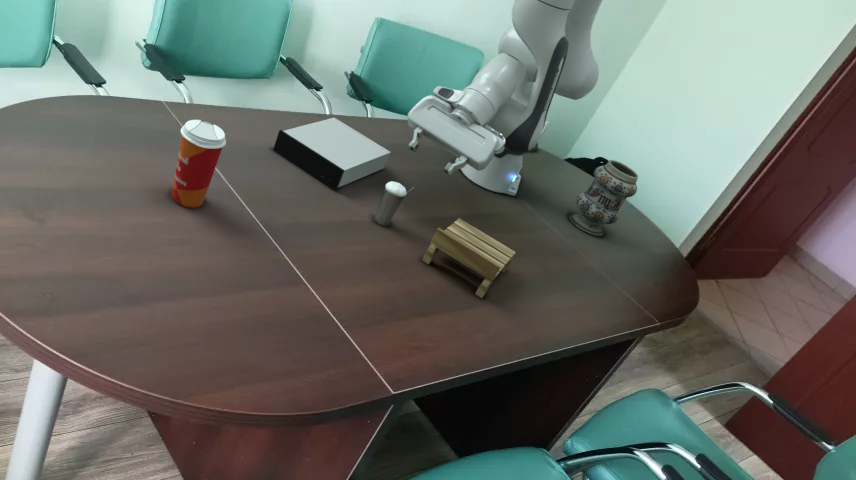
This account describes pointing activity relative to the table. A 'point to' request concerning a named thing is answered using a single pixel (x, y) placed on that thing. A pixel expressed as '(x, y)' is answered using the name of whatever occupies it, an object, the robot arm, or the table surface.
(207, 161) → the paper cup
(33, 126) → the table surface
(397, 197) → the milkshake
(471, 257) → the brown wooden slatted bench
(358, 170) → the disc drive
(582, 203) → the apothecary jar
